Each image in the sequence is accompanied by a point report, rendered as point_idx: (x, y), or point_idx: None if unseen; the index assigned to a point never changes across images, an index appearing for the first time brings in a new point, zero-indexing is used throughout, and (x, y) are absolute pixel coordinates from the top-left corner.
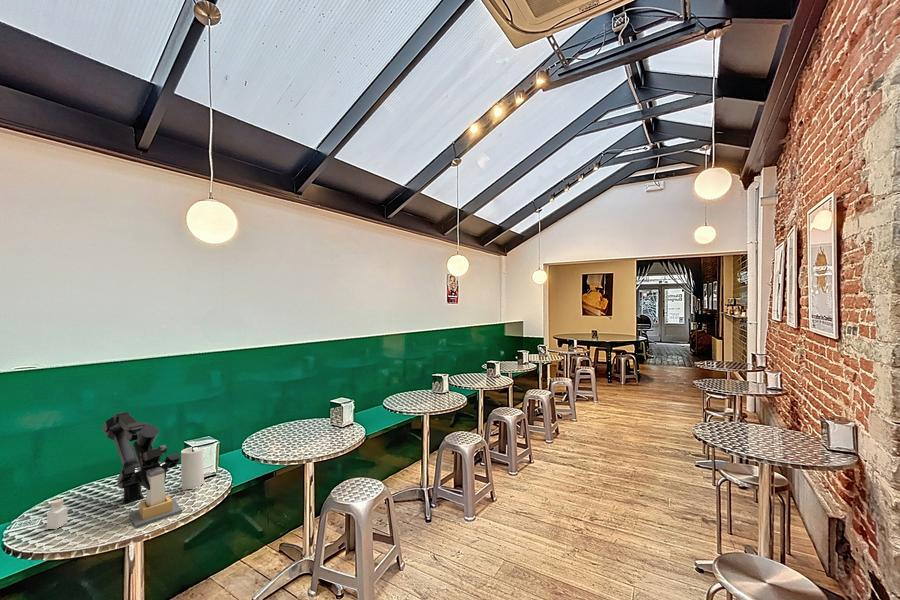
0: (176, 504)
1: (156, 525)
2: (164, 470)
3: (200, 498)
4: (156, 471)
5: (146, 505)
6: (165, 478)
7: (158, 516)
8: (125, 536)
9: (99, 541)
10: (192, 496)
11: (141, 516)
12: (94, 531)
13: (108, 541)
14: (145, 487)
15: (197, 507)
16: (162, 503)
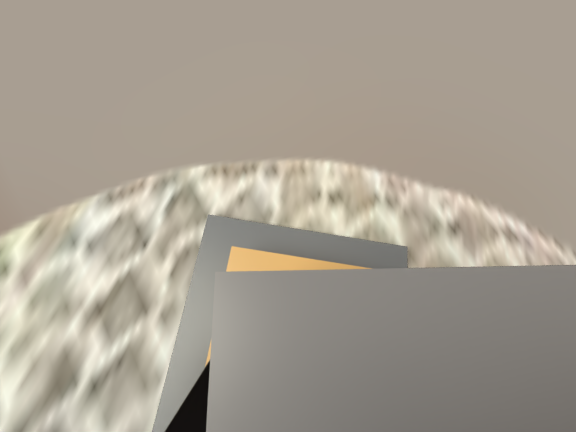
0: (189, 321)
1: (332, 194)
2: (221, 279)
3: (57, 313)
4: (461, 340)
5: None
6: (205, 367)
7: (309, 247)
8: (440, 210)
9: (525, 263)
10: (52, 405)
11: None
12: None
13: (495, 227)
14: None
15: (144, 206)
16: (284, 266)
